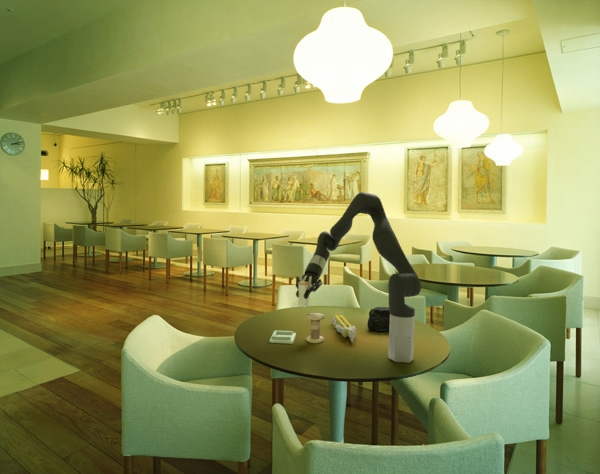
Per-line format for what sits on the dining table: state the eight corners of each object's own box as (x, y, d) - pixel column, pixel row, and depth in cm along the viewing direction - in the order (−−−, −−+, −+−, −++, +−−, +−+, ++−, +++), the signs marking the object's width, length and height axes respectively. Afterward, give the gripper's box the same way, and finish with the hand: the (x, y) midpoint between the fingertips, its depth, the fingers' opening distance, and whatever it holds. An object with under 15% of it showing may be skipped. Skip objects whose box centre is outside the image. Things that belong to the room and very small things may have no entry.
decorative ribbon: (345, 314, 207) (362, 332, 178) (343, 326, 208) (360, 345, 178) (330, 312, 206) (344, 329, 177) (328, 324, 207) (342, 343, 177)
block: (308, 306, 189) (309, 282, 189) (304, 307, 186) (305, 283, 186) (302, 304, 191) (302, 281, 191) (297, 306, 188) (298, 282, 188)
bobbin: (323, 343, 177) (324, 318, 176) (305, 342, 178) (306, 317, 177) (324, 337, 185) (324, 313, 184) (306, 337, 185) (307, 312, 185)
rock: (370, 323, 210) (366, 331, 196) (370, 304, 210) (367, 310, 196) (406, 326, 206) (405, 334, 191) (407, 307, 205) (405, 313, 191)
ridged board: (292, 343, 176) (293, 338, 176) (269, 342, 177) (269, 337, 177) (295, 335, 188) (295, 330, 188) (273, 334, 189) (273, 329, 189)
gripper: (300, 260, 198) (284, 290, 188) (326, 263, 190) (311, 294, 181) (305, 270, 202) (291, 300, 193) (331, 273, 195) (317, 304, 185)
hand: (301, 297), depth 187 cm, fingers closed on block, 3 cm apart
